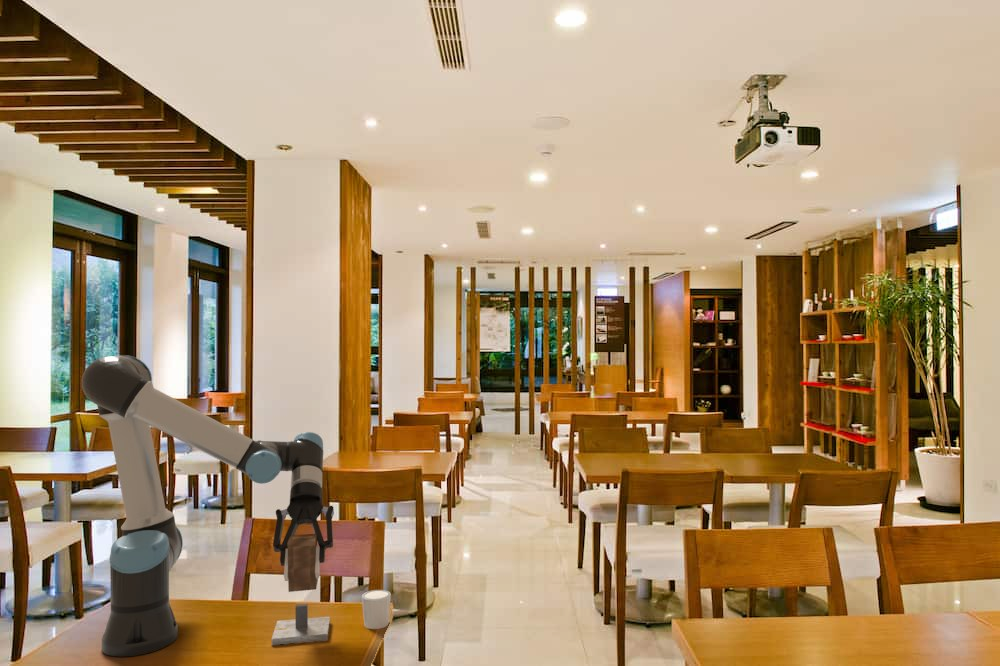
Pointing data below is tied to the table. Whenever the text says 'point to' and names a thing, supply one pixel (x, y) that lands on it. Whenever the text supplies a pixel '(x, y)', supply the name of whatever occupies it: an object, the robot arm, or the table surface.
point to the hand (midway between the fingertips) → (301, 576)
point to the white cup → (376, 608)
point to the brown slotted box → (302, 562)
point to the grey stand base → (301, 628)
